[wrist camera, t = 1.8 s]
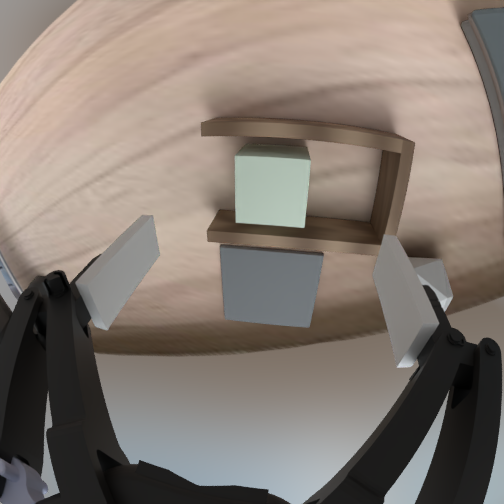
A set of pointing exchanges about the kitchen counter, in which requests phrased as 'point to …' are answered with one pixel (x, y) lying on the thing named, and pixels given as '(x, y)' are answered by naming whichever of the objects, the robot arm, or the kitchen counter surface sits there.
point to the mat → (269, 285)
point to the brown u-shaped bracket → (318, 228)
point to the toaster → (490, 61)
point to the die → (433, 277)
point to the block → (272, 184)
